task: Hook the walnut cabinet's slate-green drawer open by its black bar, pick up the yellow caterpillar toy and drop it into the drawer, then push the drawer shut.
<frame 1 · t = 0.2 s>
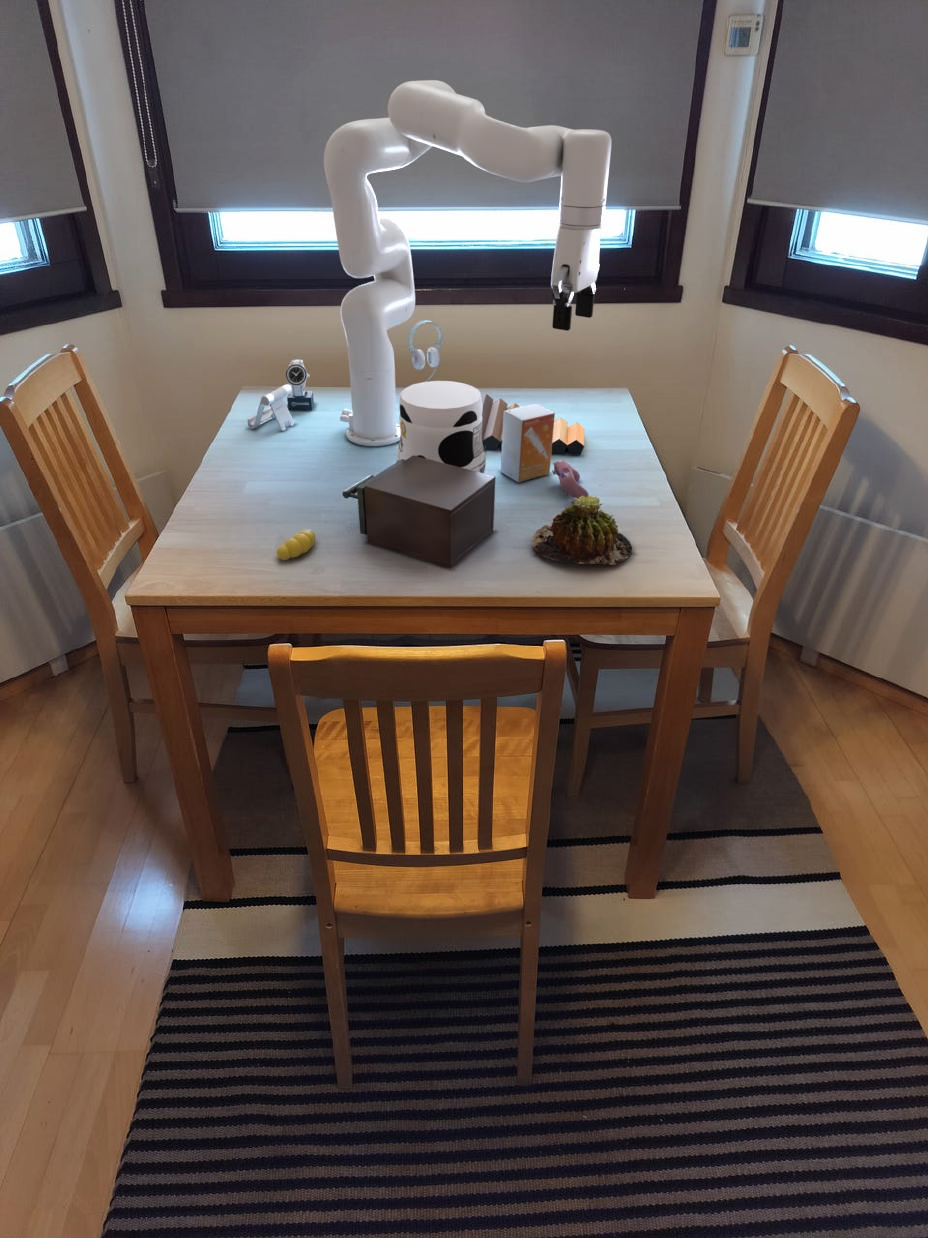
hand: (572, 322, 147), 31 cm above the table, tool pointing down, fingers open, 9 cm apart
yellow caterpillar toy: (301, 552, 141), on the table
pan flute: (527, 430, 187), on the table
video game controller: (568, 492, 161), on the table
watch: (301, 408, 197), on the table
cabinet: (431, 537, 145), on the table
tablet stand: (274, 425, 188), on the table
small box: (525, 474, 168), on the table
drawer: (405, 502, 145), point 5 cm above the table, slide at 0.8 cm
headphones: (426, 407, 198), on the table
milk container: (441, 484, 164), on the table
cactus: (581, 548, 143), on the table
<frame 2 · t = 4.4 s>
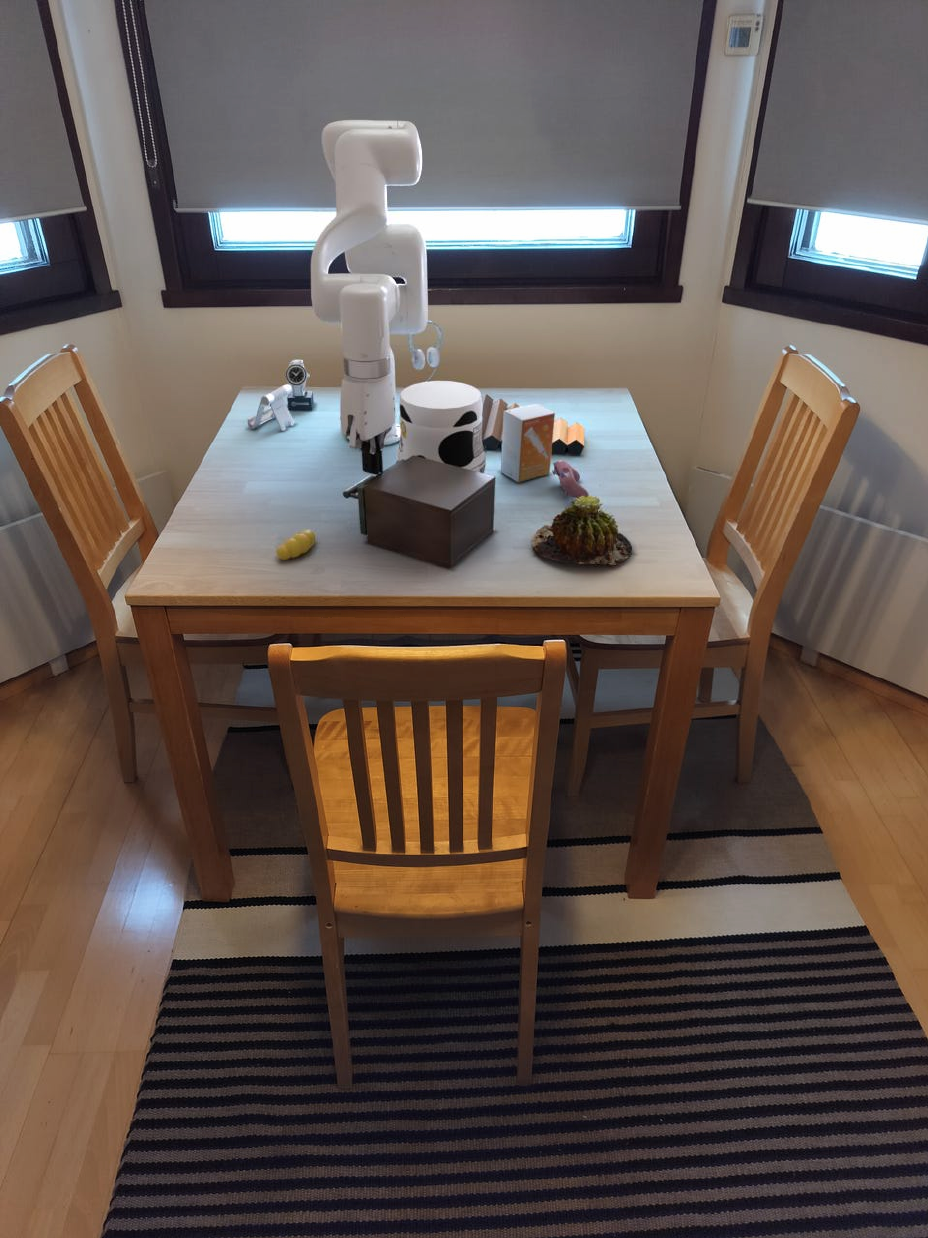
hand: (372, 471, 144), 10 cm above the table, tool pointing down, fingers closed
drawer: (405, 502, 145), point 5 cm above the table, slide at 0.7 cm, touching gripper
everything else where it was.
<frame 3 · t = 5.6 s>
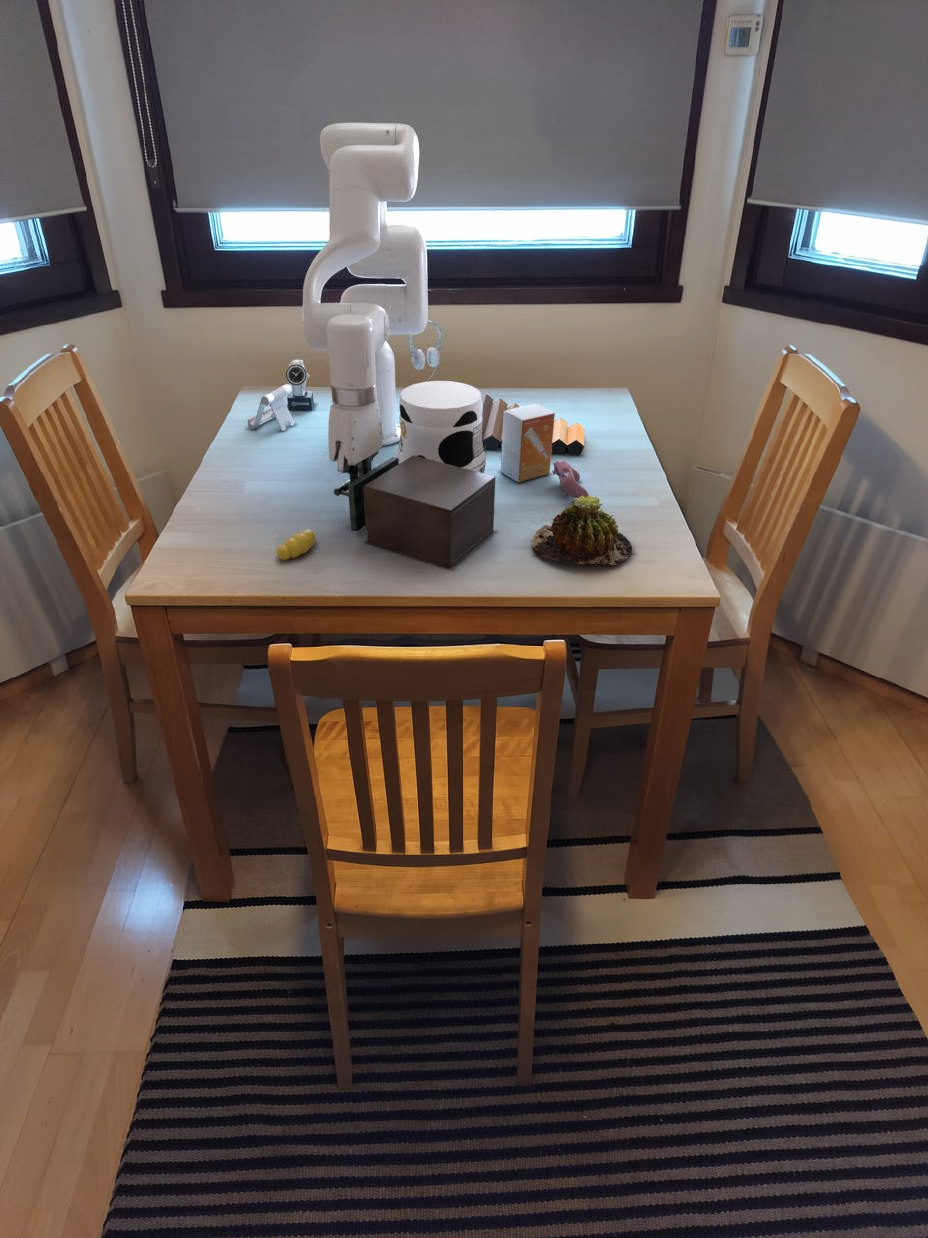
hand: (360, 493, 149), 5 cm above the table, tool pointing down, fingers closed
drawer: (395, 499, 145), point 5 cm above the table, slide at 2.7 cm
everything else where it was.
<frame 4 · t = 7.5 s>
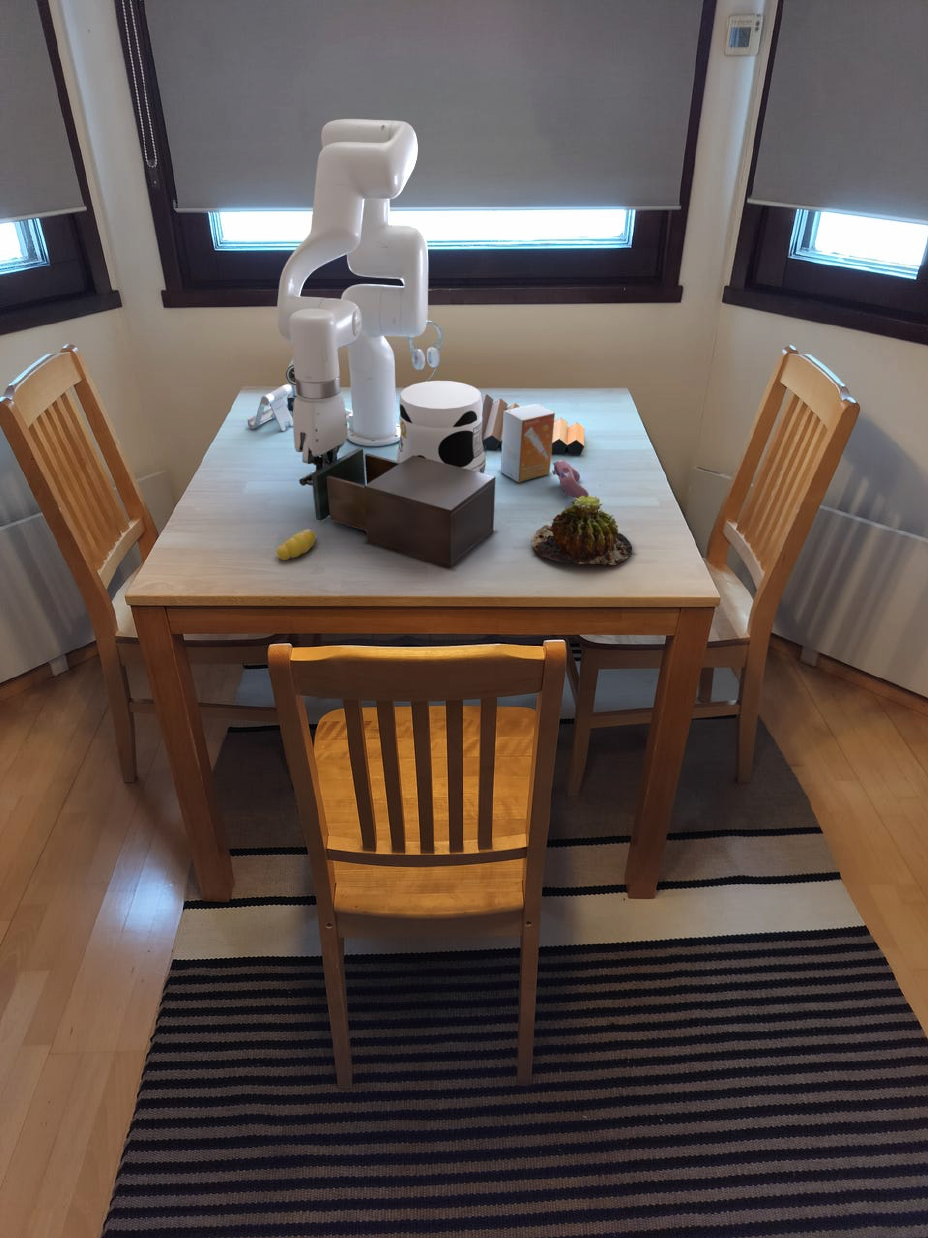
hand: (327, 484, 152), 5 cm above the table, tool pointing down, fingers closed
drawer: (359, 489, 149), point 5 cm above the table, slide at 10.5 cm
everything else where it was.
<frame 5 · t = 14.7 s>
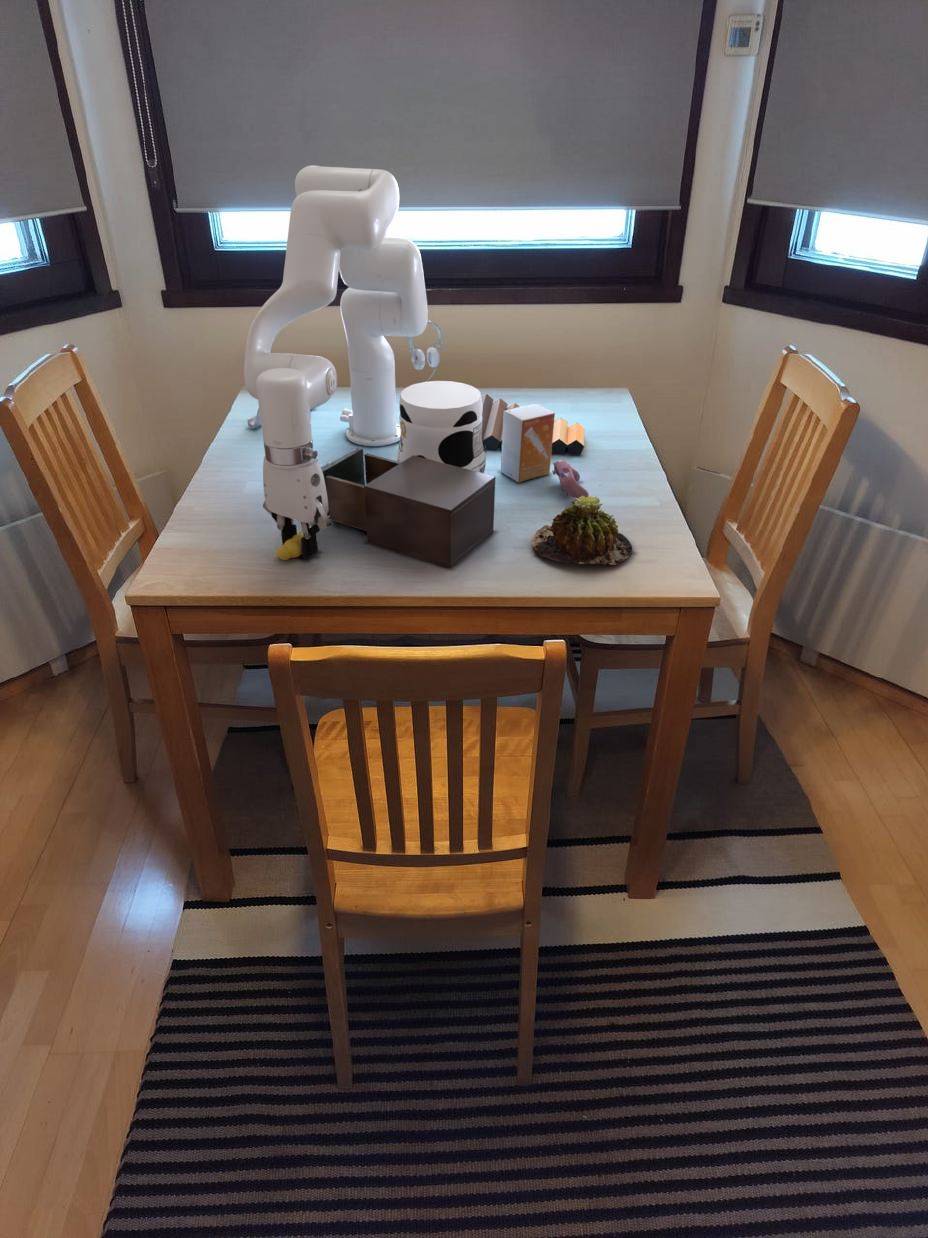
hand: (300, 551, 140), 0 cm above the table, tool pointing down, fingers closed on yellow caterpillar toy, 3 cm apart
yellow caterpillar toy: (301, 552, 141), on the table, touching gripper
everything else where it was.
when the fingers open (7 cm above the table, at t = 21.6 s): yellow caterpillar toy drops 4 cm and tips over, resting on drawer.
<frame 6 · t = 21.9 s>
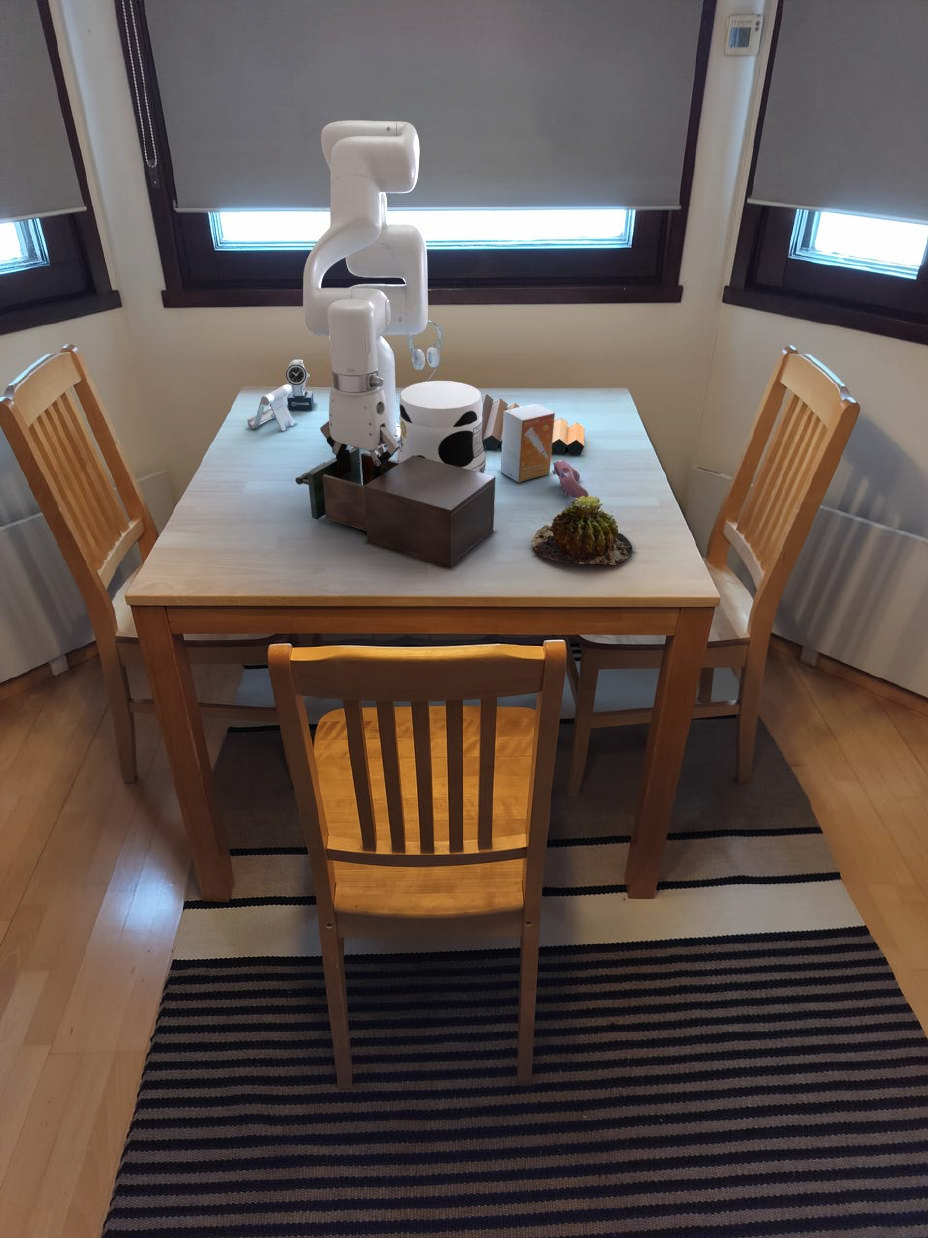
hand: (361, 477, 147), 8 cm above the table, tool pointing down, fingers open, 7 cm apart
yellow caterpillar toy: (363, 502, 150), point 3 cm above the table, tilted 60°, touching drawer
drawer: (355, 488, 149), point 5 cm above the table, slide at 11.4 cm, touching yellow caterpillar toy, gripper
everything else where it was.
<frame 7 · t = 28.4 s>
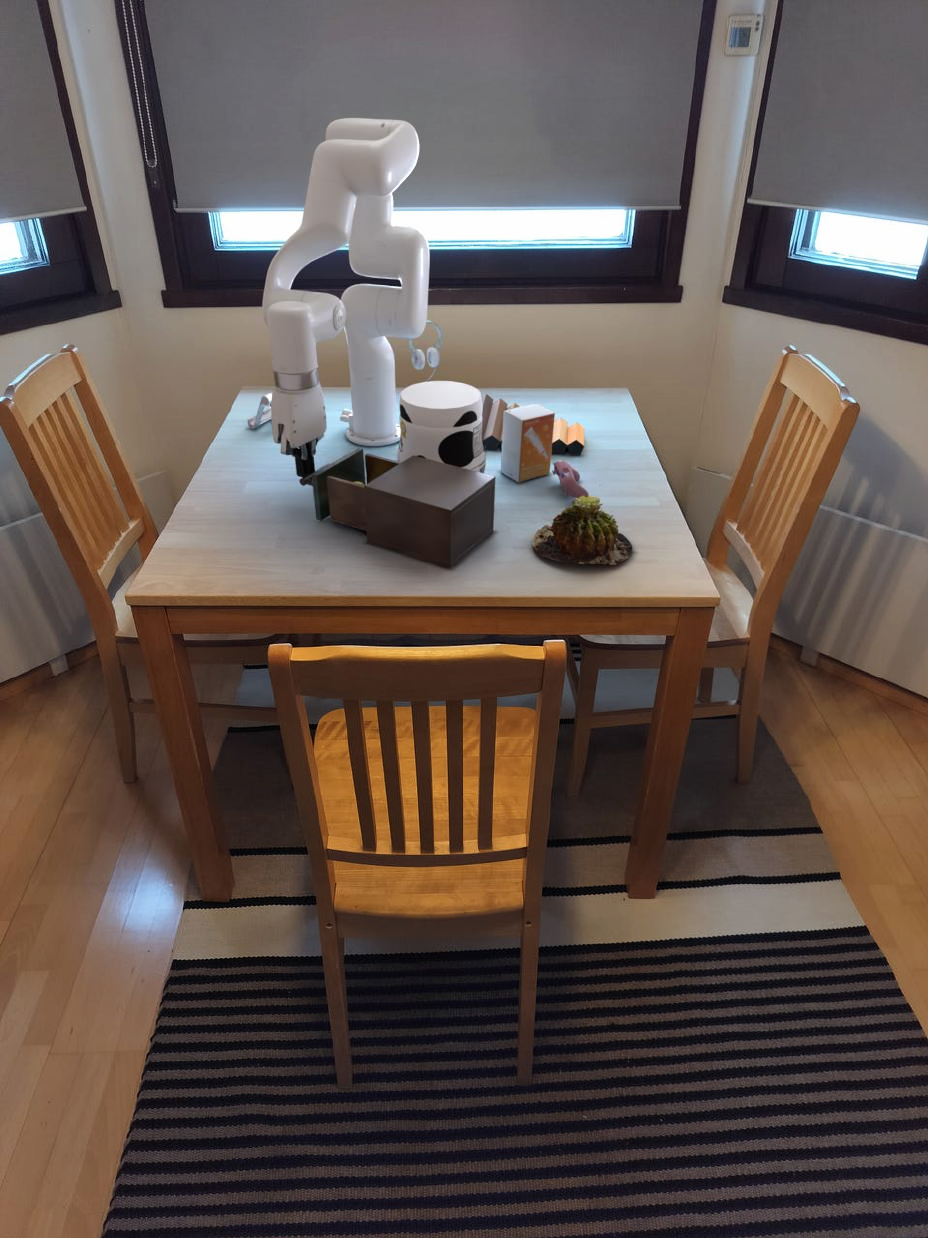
hand: (306, 476, 154), 5 cm above the table, tool pointing down, fingers closed
yellow caterpillar toy: (358, 494, 149), point 4 cm above the table, tilted 87°, touching drawer
drawer: (360, 489, 149), point 5 cm above the table, slide at 10.5 cm, touching yellow caterpillar toy, gripper
everything else where it was.
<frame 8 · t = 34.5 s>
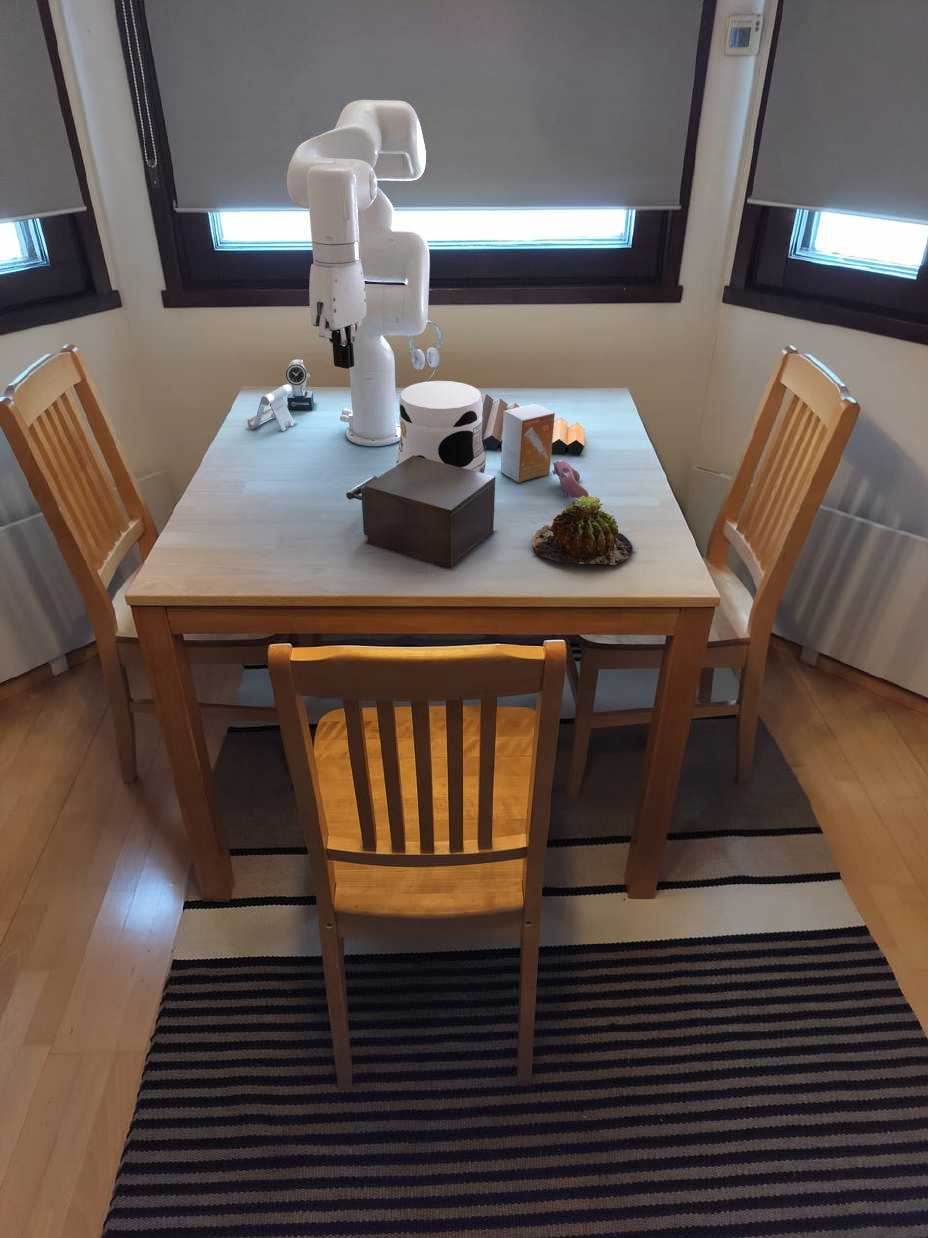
hand: (344, 366, 144), 25 cm above the table, tool pointing down, fingers closed
yellow caterpillar toy: (407, 508, 145), point 4 cm above the table, tilted 87°, touching drawer
drawer: (408, 503, 144), point 5 cm above the table, slide at 0.0 cm, touching yellow caterpillar toy, cabinet
everything else where it was.
at the end: drawer pulled out 12.1 cm at the most during the clip, back to where it started at the end; yellow caterpillar toy inside the target area in the cabinet (5.0 cm from its centre), point 4.2 cm above the cabinet's base; drawer slide at 0.0 cm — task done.
